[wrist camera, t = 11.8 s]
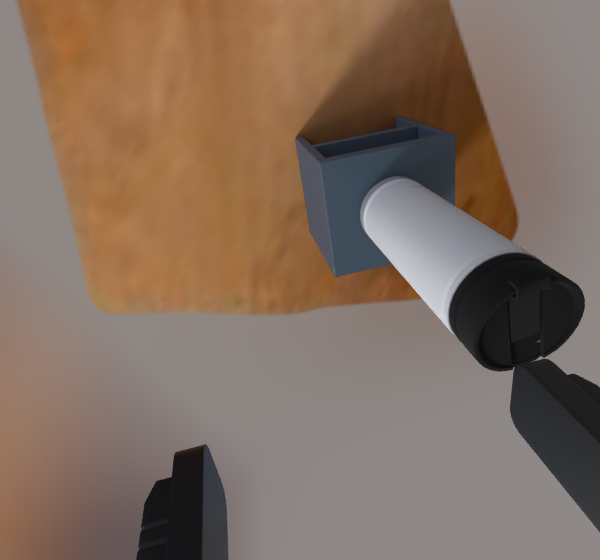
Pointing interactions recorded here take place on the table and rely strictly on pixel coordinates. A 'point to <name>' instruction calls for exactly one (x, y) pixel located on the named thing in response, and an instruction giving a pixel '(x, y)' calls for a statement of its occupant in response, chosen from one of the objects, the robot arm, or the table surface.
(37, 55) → the table surface
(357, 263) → the shelf
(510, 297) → the travel mug
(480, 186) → the table surface
